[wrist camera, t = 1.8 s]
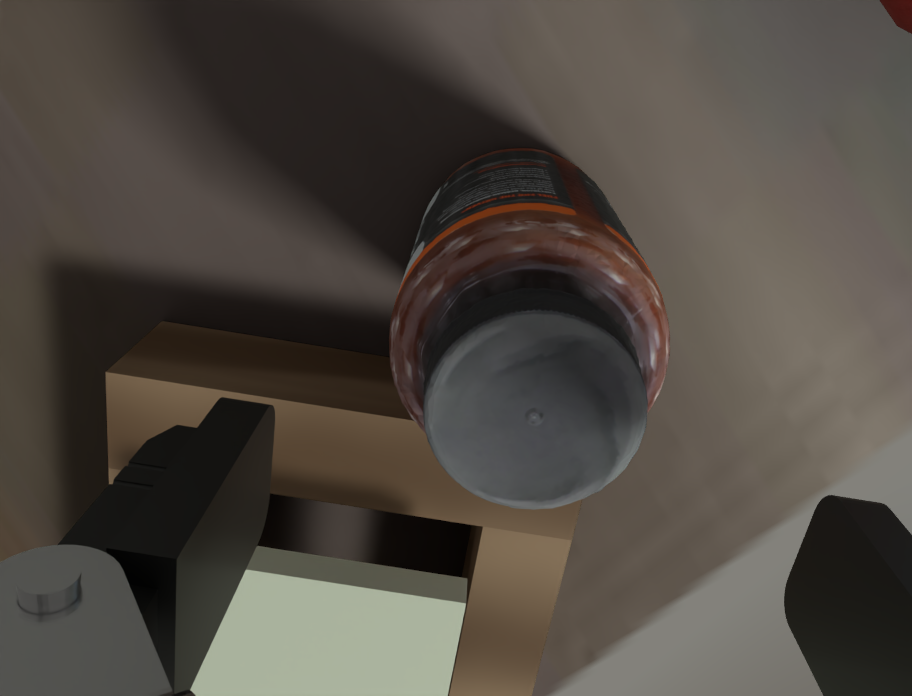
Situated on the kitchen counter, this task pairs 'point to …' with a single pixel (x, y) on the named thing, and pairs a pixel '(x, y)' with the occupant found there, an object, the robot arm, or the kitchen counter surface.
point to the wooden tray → (356, 472)
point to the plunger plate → (334, 630)
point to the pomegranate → (900, 12)
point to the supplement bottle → (528, 332)
